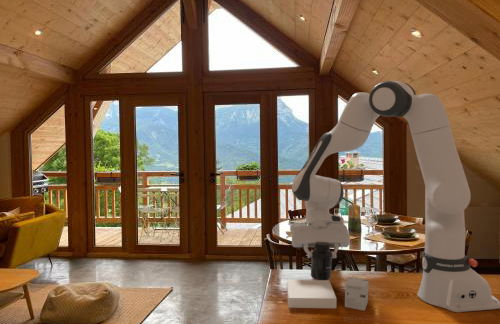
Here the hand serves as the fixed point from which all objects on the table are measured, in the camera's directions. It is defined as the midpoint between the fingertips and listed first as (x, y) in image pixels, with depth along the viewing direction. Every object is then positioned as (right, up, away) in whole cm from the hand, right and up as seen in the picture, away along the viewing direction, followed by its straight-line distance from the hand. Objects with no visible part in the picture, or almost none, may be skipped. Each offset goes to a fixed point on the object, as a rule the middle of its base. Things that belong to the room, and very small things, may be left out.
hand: (322, 257), depth 135 cm
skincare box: (+7, -11, -16) cm, 21 cm away
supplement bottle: (0, -7, +1) cm, 7 cm away
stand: (-6, -10, -11) cm, 16 cm away
